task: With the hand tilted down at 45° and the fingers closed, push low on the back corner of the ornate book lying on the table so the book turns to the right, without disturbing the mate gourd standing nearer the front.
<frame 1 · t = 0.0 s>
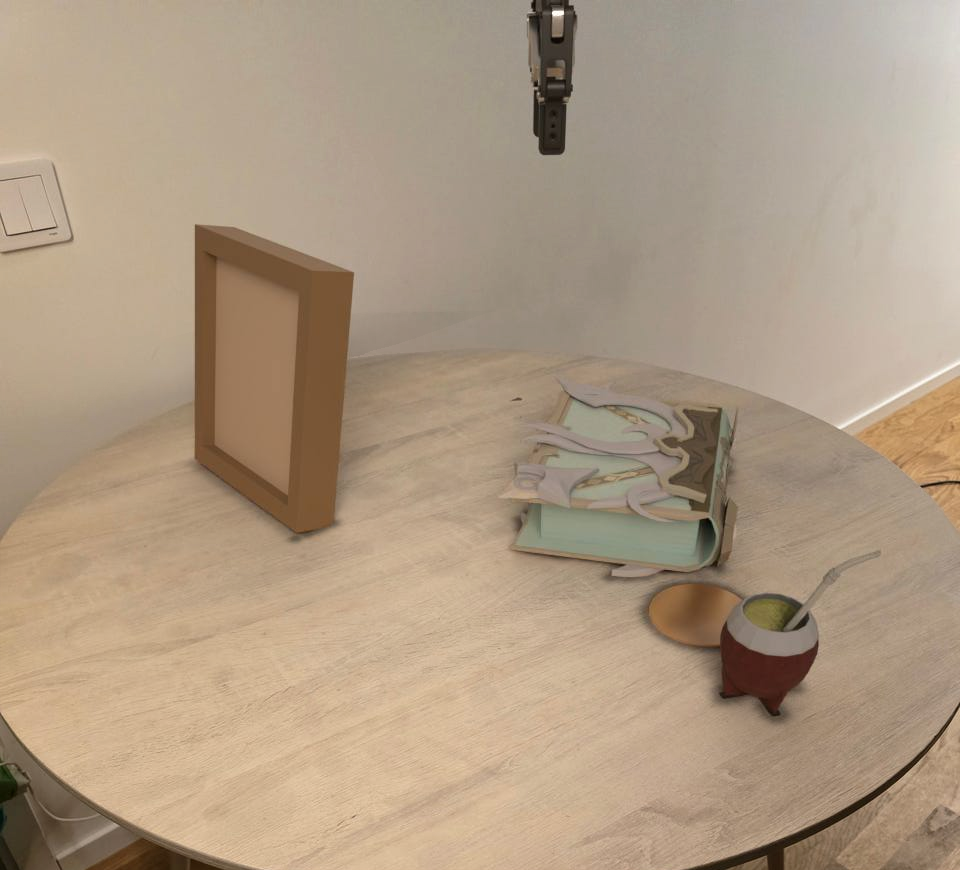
hand: (548, 145, 79), 33 cm above the table, tool pointing down, fingers open, 8 cm apart
photo frame: (302, 480, 100), on the table
mate gourd: (762, 695, 71), on the table
shallow brown plate: (699, 618, 78), on the table
ornate book: (624, 506, 94), on the table
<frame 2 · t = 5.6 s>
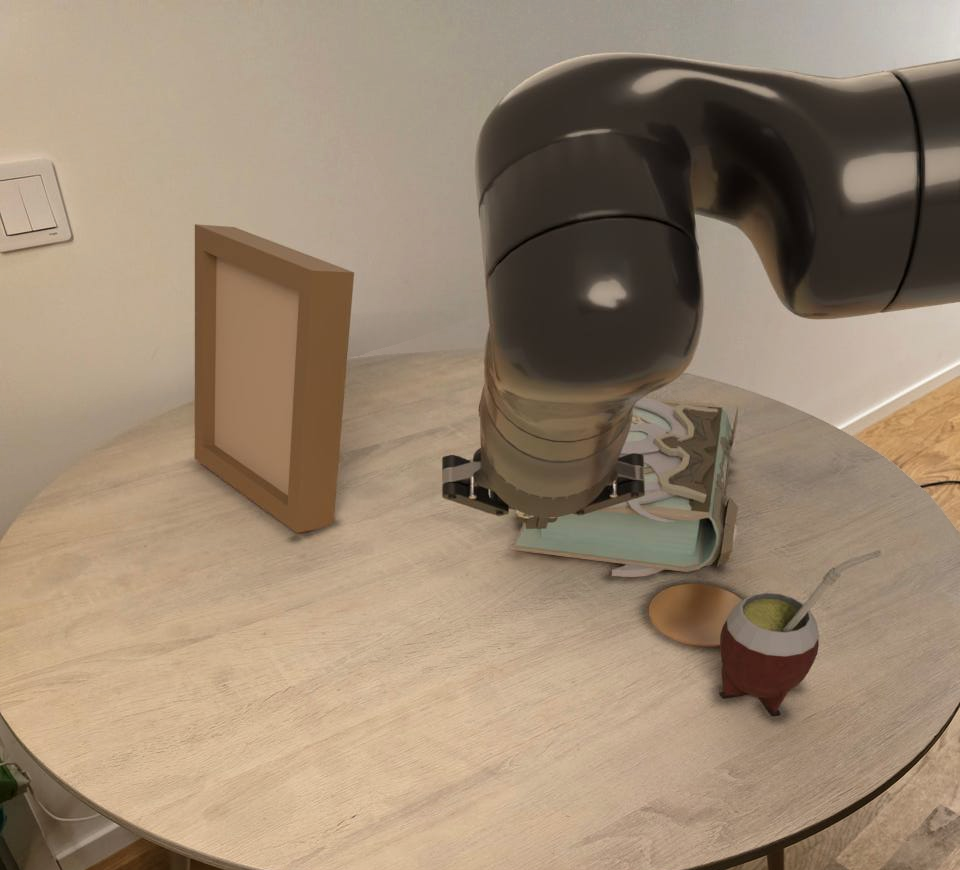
hand: (535, 515, 63), 15 cm above the table, tool tilted 45°, fingers closed
nothing on the table moved.
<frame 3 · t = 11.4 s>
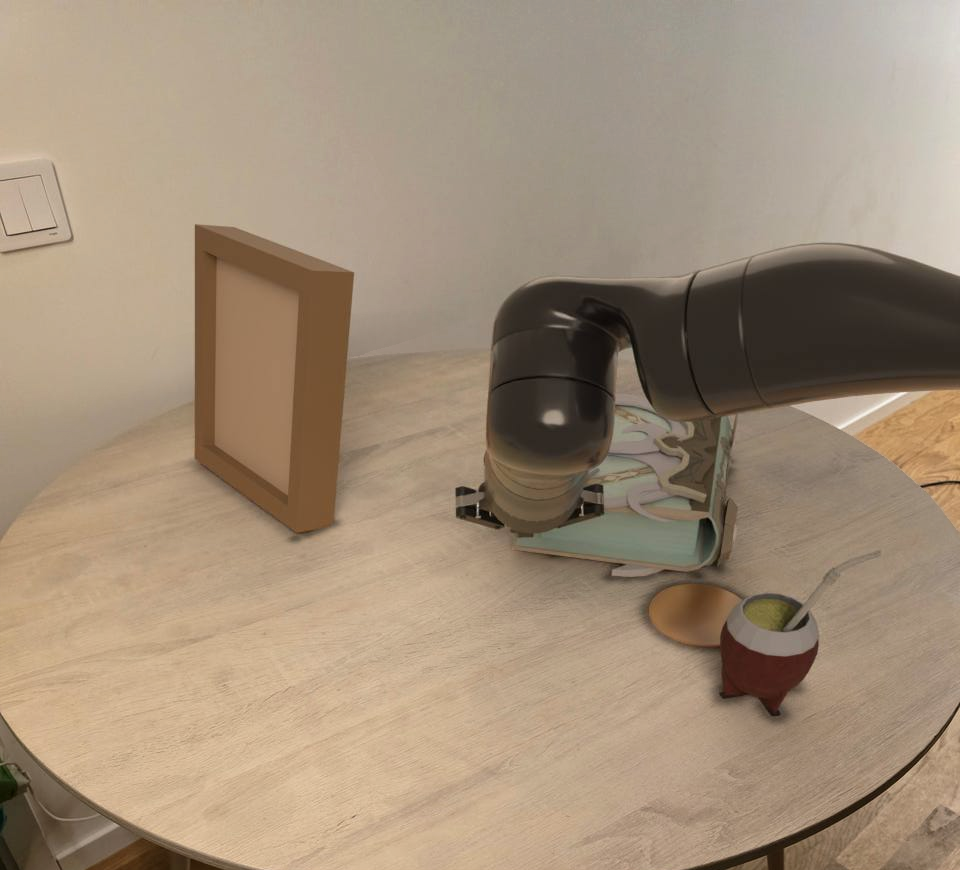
hand: (525, 526, 83), 4 cm above the table, tool tilted 45°, fingers closed
ornate book: (624, 505, 94), on the table, touching gripper
everything else where it was.
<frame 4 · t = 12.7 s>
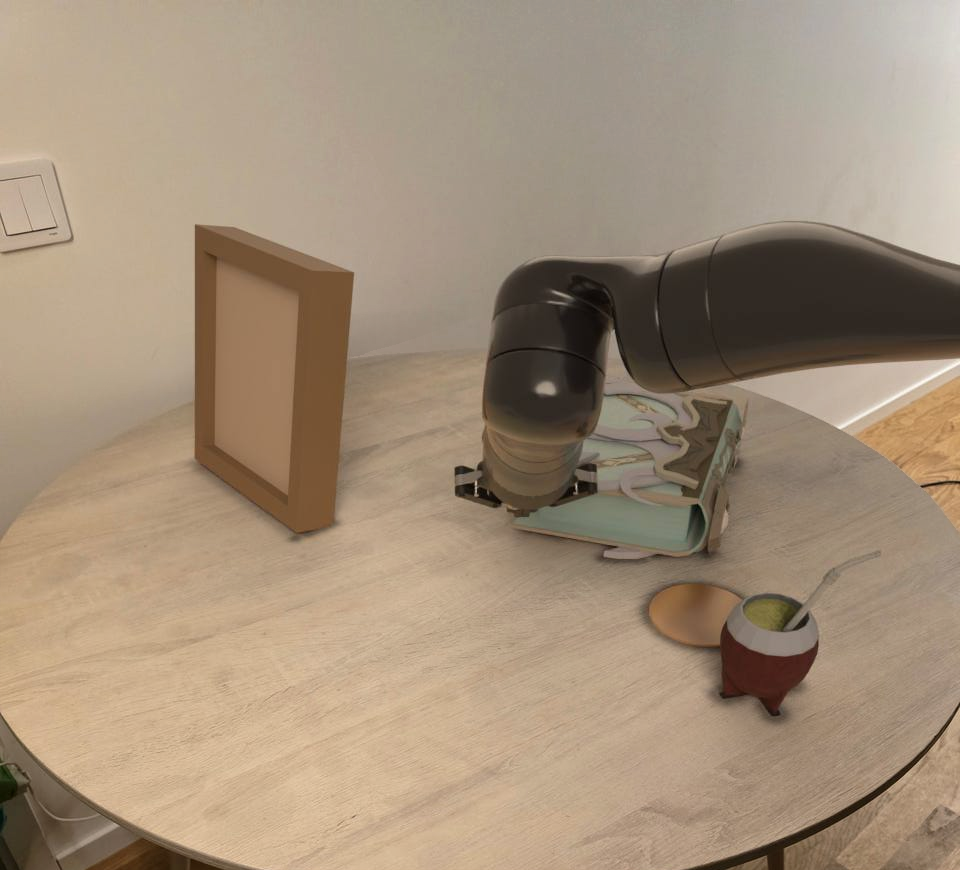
hand: (521, 507, 86), 4 cm above the table, tool tilted 45°, fingers closed
ornate book: (628, 492, 96), on the table, touching gripper
everything else where it was.
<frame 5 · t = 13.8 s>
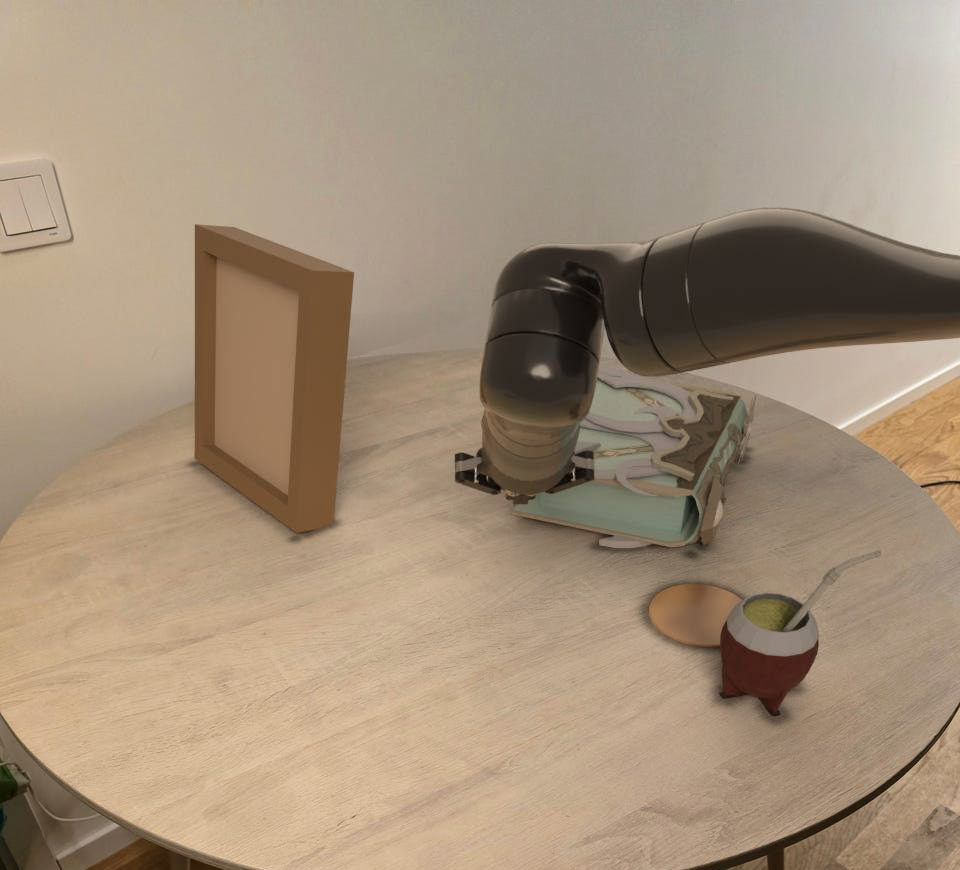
hand: (520, 494, 88), 4 cm above the table, tool tilted 45°, fingers closed
ornate book: (632, 484, 98), on the table, touching gripper
everything else where it was.
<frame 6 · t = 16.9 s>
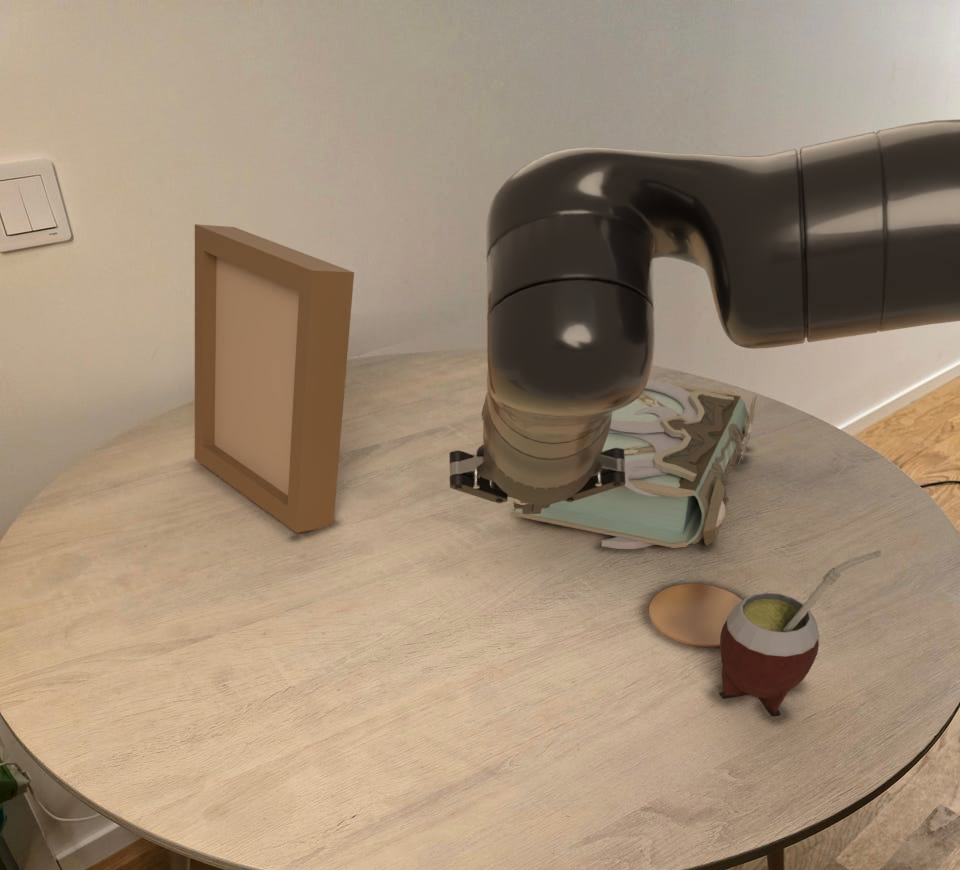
hand: (531, 501, 71), 12 cm above the table, tool tilted 45°, fingers closed
ornate book: (633, 485, 98), on the table
everything else where it was.
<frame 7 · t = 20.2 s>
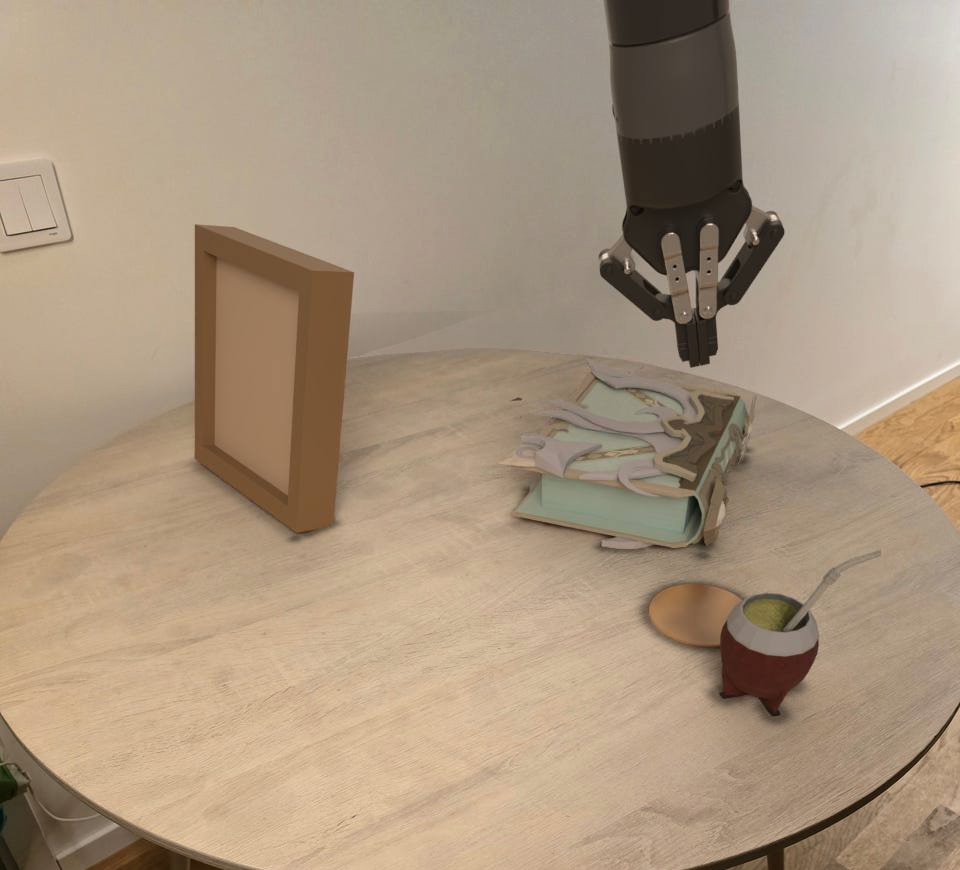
hand: (699, 360, 67), 22 cm above the table, tool pointing down, fingers closed
nothing on the table moved.
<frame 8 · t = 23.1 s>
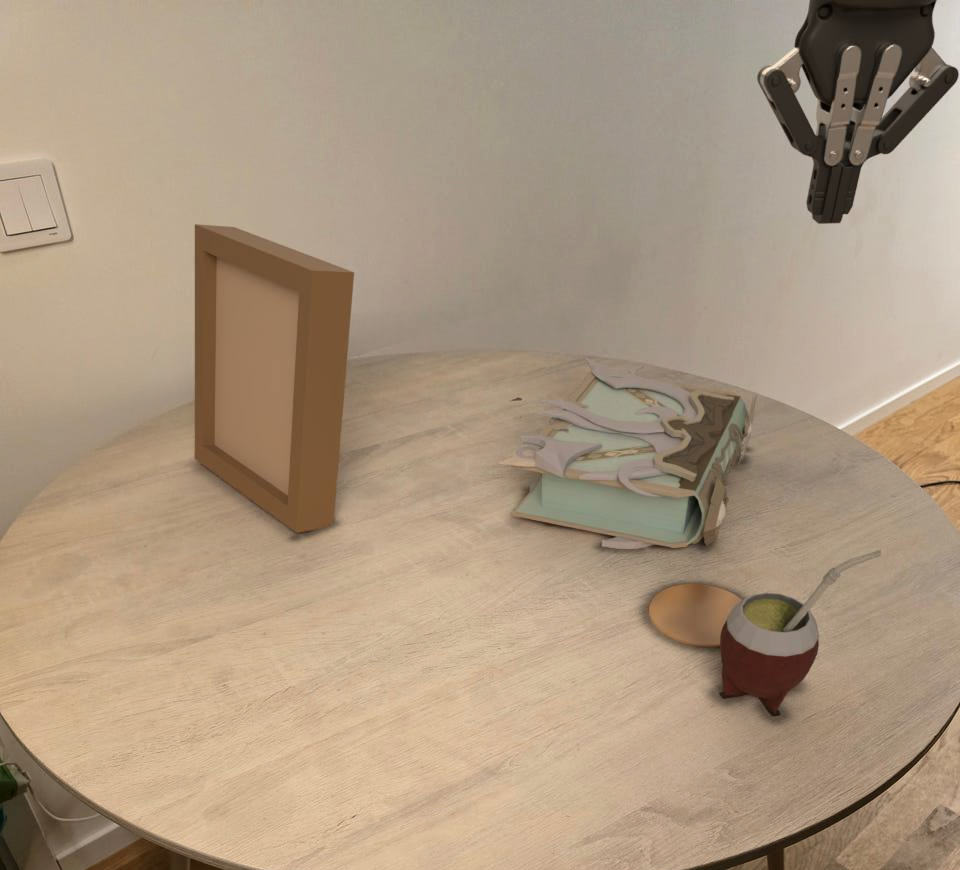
hand: (826, 220, 64), 31 cm above the table, tool pointing down, fingers closed
nothing on the table moved.
at the end: ornate book moved 4.8 cm from its start; ornate book tilted 0°; mate gourd moved 0.2 cm from its start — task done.
